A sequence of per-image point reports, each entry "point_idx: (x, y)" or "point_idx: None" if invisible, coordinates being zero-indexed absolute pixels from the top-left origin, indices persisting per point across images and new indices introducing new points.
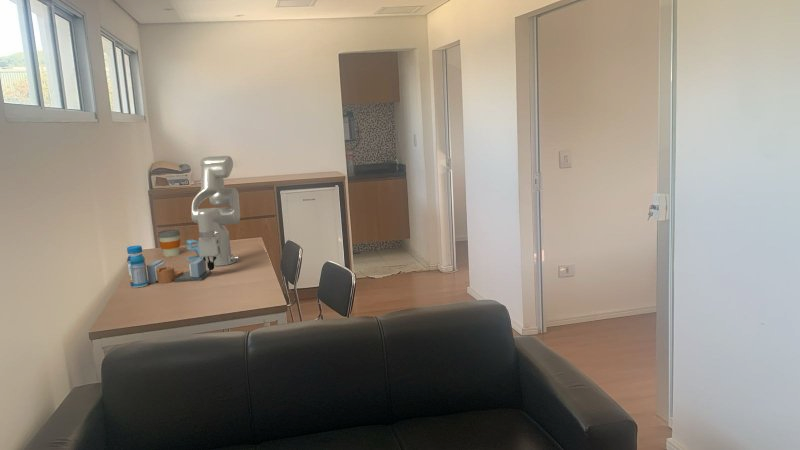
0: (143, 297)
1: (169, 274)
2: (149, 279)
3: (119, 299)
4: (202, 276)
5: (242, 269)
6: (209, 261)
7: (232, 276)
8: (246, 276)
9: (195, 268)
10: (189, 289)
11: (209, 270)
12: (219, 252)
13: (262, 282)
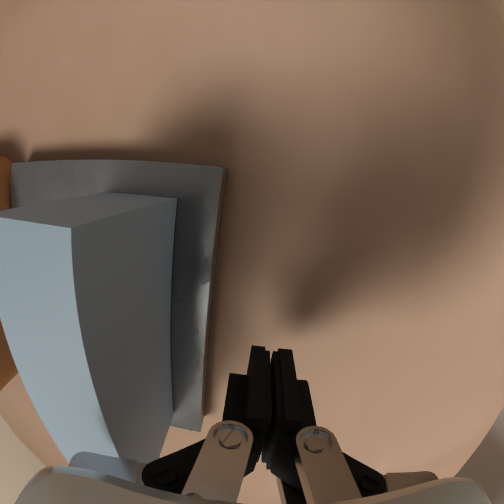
0: None
1: (7, 382)
2: None
3: (34, 450)
4: (198, 410)
5: (490, 169)
6: (254, 467)
7: (414, 377)
8: (465, 387)
9: None
10: None
11: (209, 178)
12: (476, 490)
13: (457, 455)
